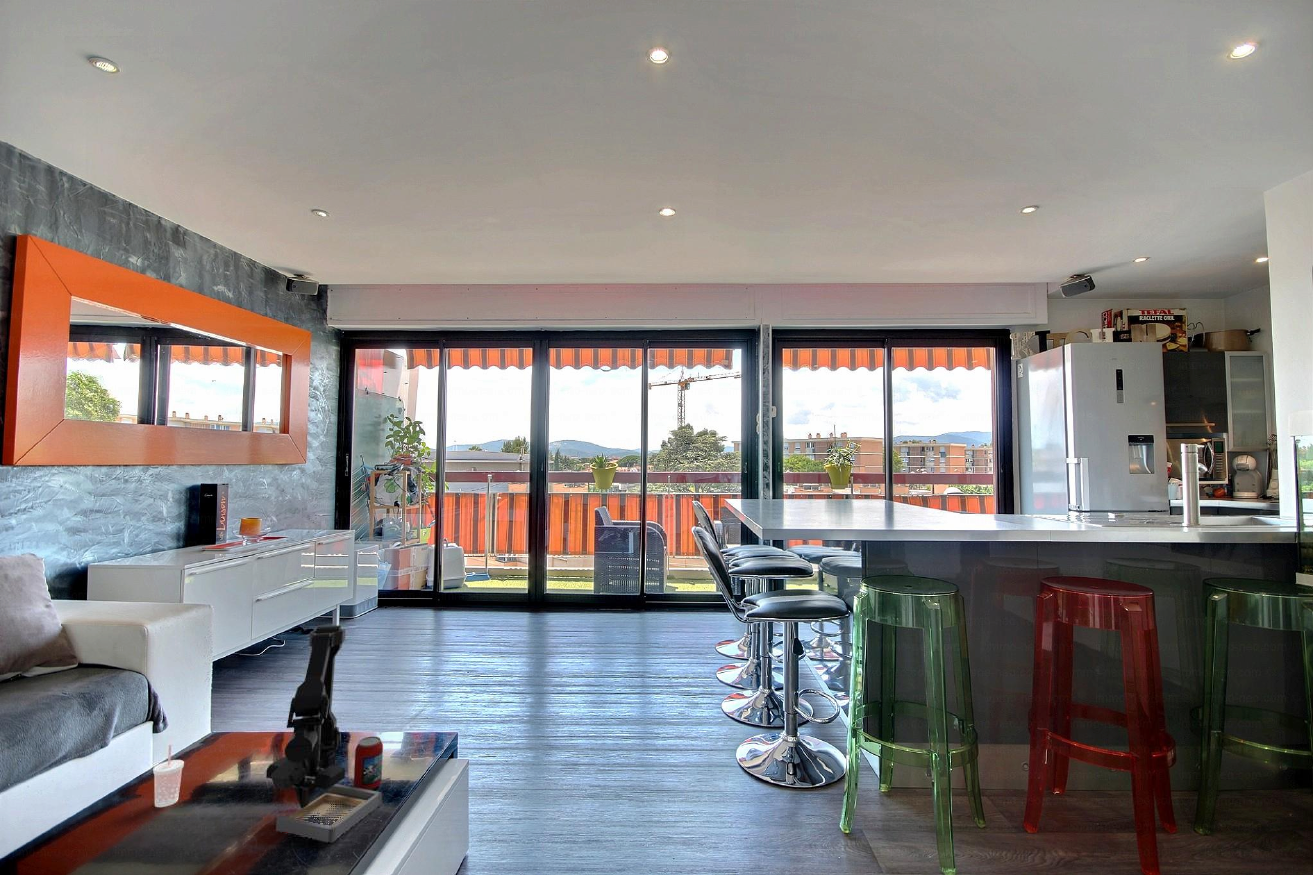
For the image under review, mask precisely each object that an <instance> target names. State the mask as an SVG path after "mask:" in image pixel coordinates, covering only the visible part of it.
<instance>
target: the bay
mask: <svg viewBox="0 0 1313 875" xmlns="http://www.w3.org/2000/svg"><path fill="white" fill-rule="evenodd" d="M326 790H327V792H326V793H331V794H337V795H342V796H347V797H352V798H357V799H362V800H367V801H366V802H364V803H363V804H362V805H360V806H359V807H358V808H356V809H355V810H353V811H352V812H351V813H349V814H348V815H347V816H345V817H344V818H343V819H341V820H340V821H339V822H337V823H336V824H335V825H333V826H327V825H323V824H318V823H313V822H308V821H303V820H299V819H294V818H289V817H290V816H289V817H288V816H283V815H279V816H278V817H276V823H275V824H276V825H275V827H276V828H275V832H278V831H284V832H288V833H293V834H296V835H300V836H299V837H301V836H302V838H305V837H308V838H307V839H310V838H312V839H311V840H315V839H316V841H319V842H324V843H328V842H330V844H333V843H334V842H335V841H336V840H338V839H339V838H341V835H342V834H343V833H344V834H346V833H347V832H348V831H349V830H351V829H352V828H353V827H355V826H356V825H357V824H359V821H360V820H361V819H362V820H364V819H365V818H366V817H367V816H369V815H368V813H370V812H371V813H372V812H373V810H374V811H375V810H377V809H378V808H379V807H381V806H382V801H383V800H382V799H383V798H382V797H383V792H381V791H377V790H376V791H375V790H366V789H361V788H355V787H354V786H350V785H343V784H339V783H337V784H335V785H334V786H332V787H330V788H329V789H326ZM378 806H379V807H378ZM377 807H378V808H377ZM371 813H370V814H371ZM366 815H367V816H366ZM365 816H366V817H365ZM364 817H365V818H364ZM362 820H361V821H362ZM361 821H360V822H361ZM356 823H357V824H356ZM355 824H356V825H355ZM352 826H353V827H352ZM351 827H352V828H351ZM350 828H351V829H350ZM346 831H347V832H346ZM344 834H343V835H344ZM296 835H295V836H296ZM343 835H342V836H343ZM337 838H338V839H337ZM332 842H333V843H332Z"/></svg>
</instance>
